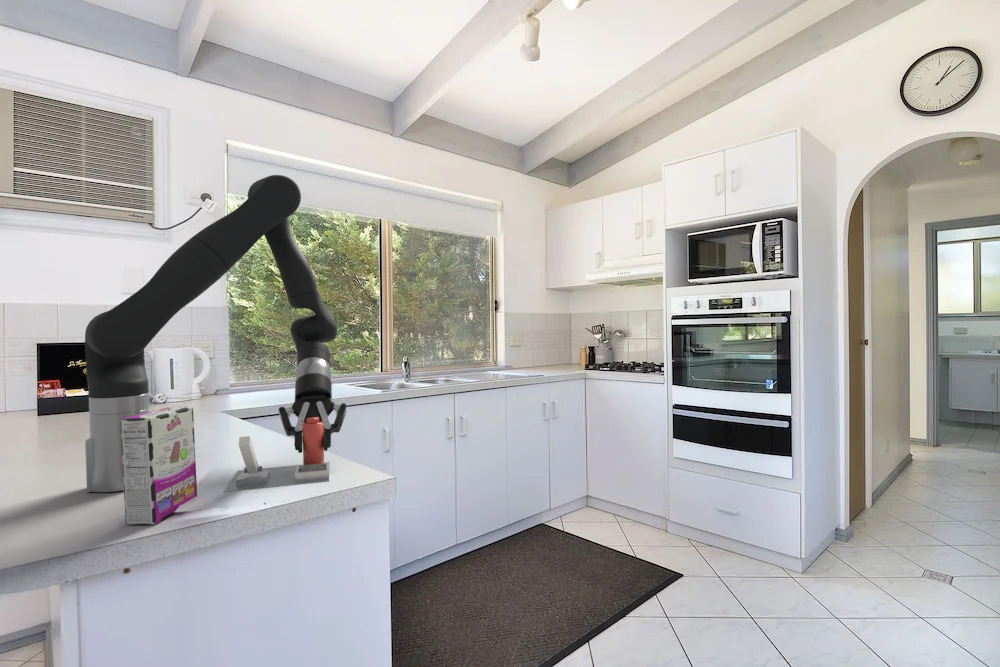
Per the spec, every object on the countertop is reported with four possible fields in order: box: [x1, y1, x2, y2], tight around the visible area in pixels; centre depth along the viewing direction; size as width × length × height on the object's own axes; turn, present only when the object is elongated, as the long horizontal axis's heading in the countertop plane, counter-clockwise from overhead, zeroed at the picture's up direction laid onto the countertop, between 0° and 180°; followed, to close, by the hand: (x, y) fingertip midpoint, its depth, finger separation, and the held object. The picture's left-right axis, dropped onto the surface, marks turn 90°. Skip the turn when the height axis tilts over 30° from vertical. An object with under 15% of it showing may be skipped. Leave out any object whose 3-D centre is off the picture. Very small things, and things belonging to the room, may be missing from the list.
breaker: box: [238, 435, 263, 474], centre depth 95 cm, size 3×2×12 cm
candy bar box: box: [120, 405, 198, 526], centre depth 85 cm, size 11×5×16 cm, turn 179°
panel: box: [223, 461, 330, 493], centre depth 102 cm, size 18×14×2 cm
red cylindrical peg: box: [302, 417, 325, 465], centre depth 108 cm, size 4×4×10 cm
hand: (313, 449), depth 106 cm, fingers open, 4 cm apart
